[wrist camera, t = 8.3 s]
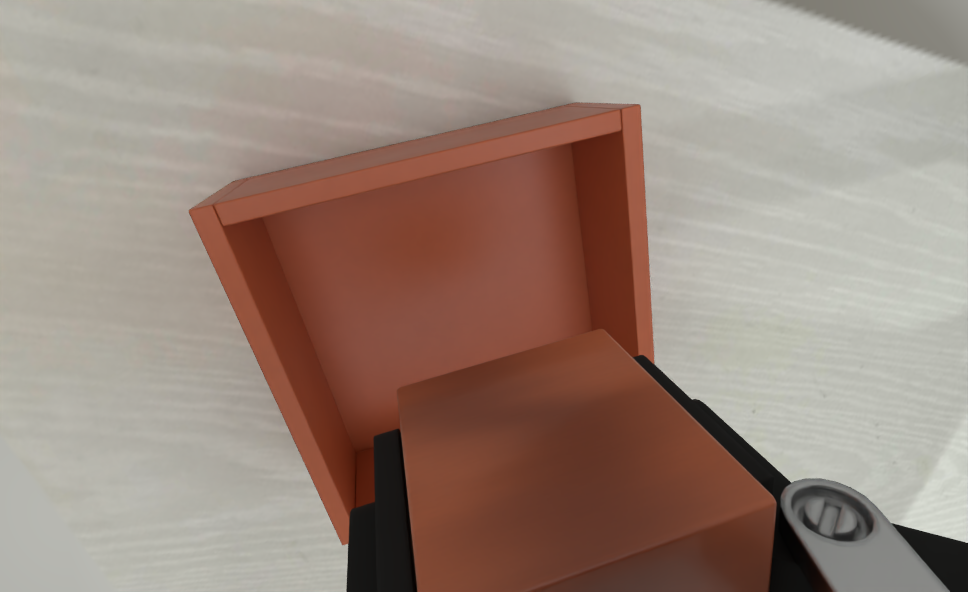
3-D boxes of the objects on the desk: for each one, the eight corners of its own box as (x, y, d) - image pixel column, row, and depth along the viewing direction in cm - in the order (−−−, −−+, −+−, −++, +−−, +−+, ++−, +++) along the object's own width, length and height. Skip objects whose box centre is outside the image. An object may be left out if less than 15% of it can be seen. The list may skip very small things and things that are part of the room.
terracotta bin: (346, 459, 21) (342, 546, 17) (231, 181, 16) (187, 210, 12) (606, 378, 23) (659, 440, 19) (576, 102, 18) (640, 103, 13)
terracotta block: (445, 538, 12) (494, 811, 7) (395, 386, 10) (419, 628, 5) (618, 480, 12) (762, 700, 8) (602, 325, 11) (780, 499, 6)
